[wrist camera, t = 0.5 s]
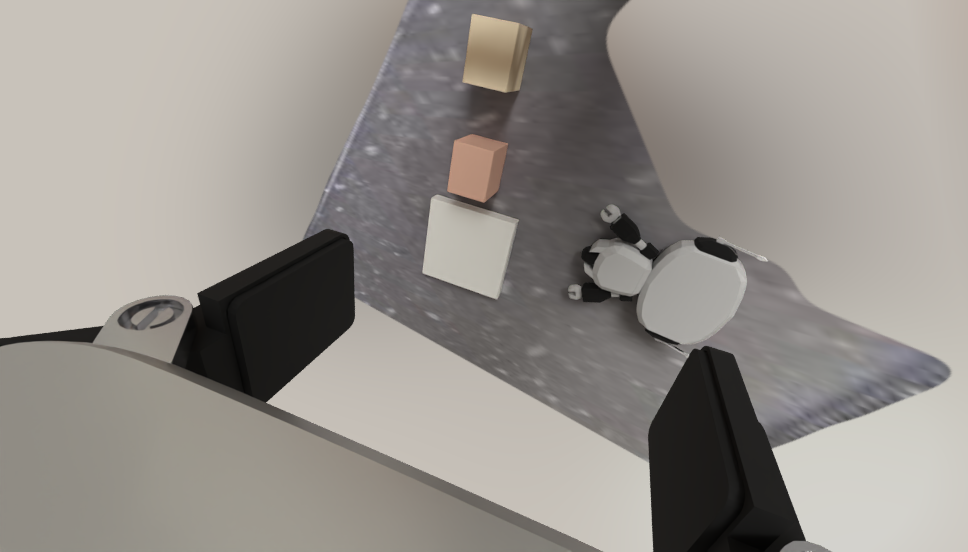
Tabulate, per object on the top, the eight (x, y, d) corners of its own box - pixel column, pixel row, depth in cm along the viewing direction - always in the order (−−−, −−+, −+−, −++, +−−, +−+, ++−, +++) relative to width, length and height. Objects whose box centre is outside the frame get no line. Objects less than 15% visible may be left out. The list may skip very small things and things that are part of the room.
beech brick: (490, 20, 35) (472, 13, 31) (532, 29, 34) (519, 23, 30) (480, 81, 37) (462, 82, 33) (519, 90, 37) (505, 92, 33)
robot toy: (567, 287, 45) (696, 342, 42) (558, 305, 42) (699, 367, 38) (609, 189, 39) (765, 245, 36) (602, 201, 35) (777, 264, 32)
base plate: (437, 194, 44) (431, 197, 43) (519, 219, 42) (515, 224, 41) (427, 267, 50) (422, 273, 48) (500, 293, 48) (496, 299, 46)
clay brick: (472, 133, 40) (454, 140, 36) (508, 143, 39) (494, 151, 35) (464, 180, 43) (447, 191, 39) (498, 190, 42) (484, 202, 38)
